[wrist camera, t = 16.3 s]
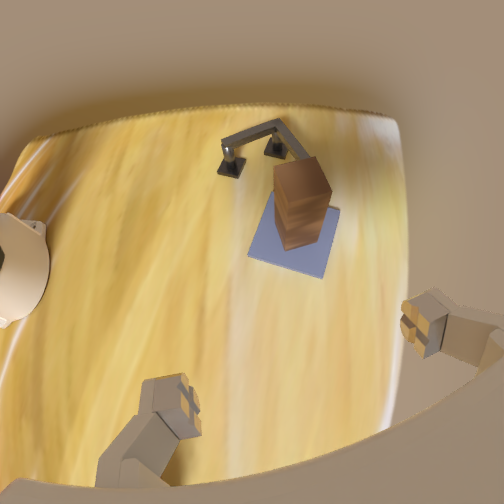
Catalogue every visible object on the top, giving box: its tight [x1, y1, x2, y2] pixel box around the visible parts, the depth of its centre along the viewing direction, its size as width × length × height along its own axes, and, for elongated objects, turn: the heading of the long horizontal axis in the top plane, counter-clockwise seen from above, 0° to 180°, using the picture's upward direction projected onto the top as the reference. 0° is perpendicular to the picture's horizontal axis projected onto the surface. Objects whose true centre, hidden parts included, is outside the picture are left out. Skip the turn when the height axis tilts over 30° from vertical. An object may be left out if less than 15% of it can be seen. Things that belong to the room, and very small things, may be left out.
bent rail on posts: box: [217, 118, 311, 179], centre depth 38 cm, size 13×8×6 cm, turn 70°
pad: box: [248, 192, 340, 279], centre depth 36 cm, size 9×9×1 cm
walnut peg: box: [274, 157, 332, 251], centre depth 31 cm, size 4×4×11 cm
